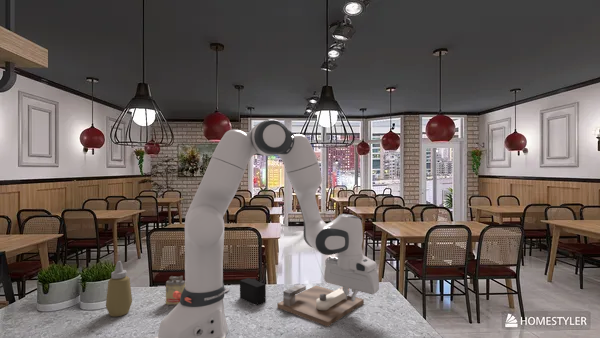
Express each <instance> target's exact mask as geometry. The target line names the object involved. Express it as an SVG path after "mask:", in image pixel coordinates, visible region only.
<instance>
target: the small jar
mask: <svg viewBox="0 0 600 338" xmlns="http://www.w3.org/2000/svg"><path fill="white" fill-rule="evenodd" d="M183 279H184V276H183V275H180V276H173V275H171V276H169V277H168V280H167V281H165V305H168V306H169V305H172V306H173V305H174V306H177V304H178V303H179V302H180V299H176V298H173V296H172V295H173V293H174V292H175V291H178V292H181V294H182V292H183V290H184V288H185V279H184V280H183Z"/></svg>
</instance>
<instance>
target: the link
mask: <svg viewBox="0 0 600 338" xmlns="http://www.w3.org/2000/svg"><path fill="white" fill-rule="evenodd" d="M348 290H349V291H350V289H348ZM345 298H346V295H345V293H344V291H343V287H342V286H340V288H336V289H335V290H333V292H331V293H330V294H328V295H326V300H325V301H321V300H320V298H318V299H317V300H316V308H317V309H318V310H323V311H324V310H328V309H329V308H330V307H331V306H333V305H335V304H337V303H338V302H340V301H342V300H343V299H345Z"/></svg>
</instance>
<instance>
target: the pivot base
mask: <svg viewBox="0 0 600 338" xmlns="http://www.w3.org/2000/svg"><path fill="white" fill-rule="evenodd" d="M333 291H334V290H333V289H328V288H326V287H323V286H322V287H321V286H320V285H319V286H318V285H313V286H312V287H311V288H308V289H307V286H306V285H303V284H300V283H299V284H297V285H294V286H293V287H290V288H288V289H285V290H284V291H283V292H282V293H283V294H282V295H283V300H282V301H280V302H278V303H277V305H276V307H277V309H280V310H283V311H286V312H288V313H291V314H293V315H295V316H298V317H301V318H304V319H306V320H309V321H312V322H315V323H317V324H320V325H323V326H325V327H330V326H331V325H333V324H334V323H335V322H337V321H339V320H340V319H342V318H344V317H345V316H347V315H348V314H349V313H351V312H353V311H355V309H357V308H359V307H360V306H363V304H364V303H365V300H364V298H360V297H356V296H355V301H354V302H352V301H349V300H346V298H345V299H343V300H342V301H340V302H338V303H337V304H335V305H333V306H331V307H330V308H329V309H328V310H324V311H323V310H318V309H317V308H316V300H317V299H318V298H320V300H321V301H325V300H326V295H328V294H330V293H331V292H333ZM343 316H344V317H343Z"/></svg>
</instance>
